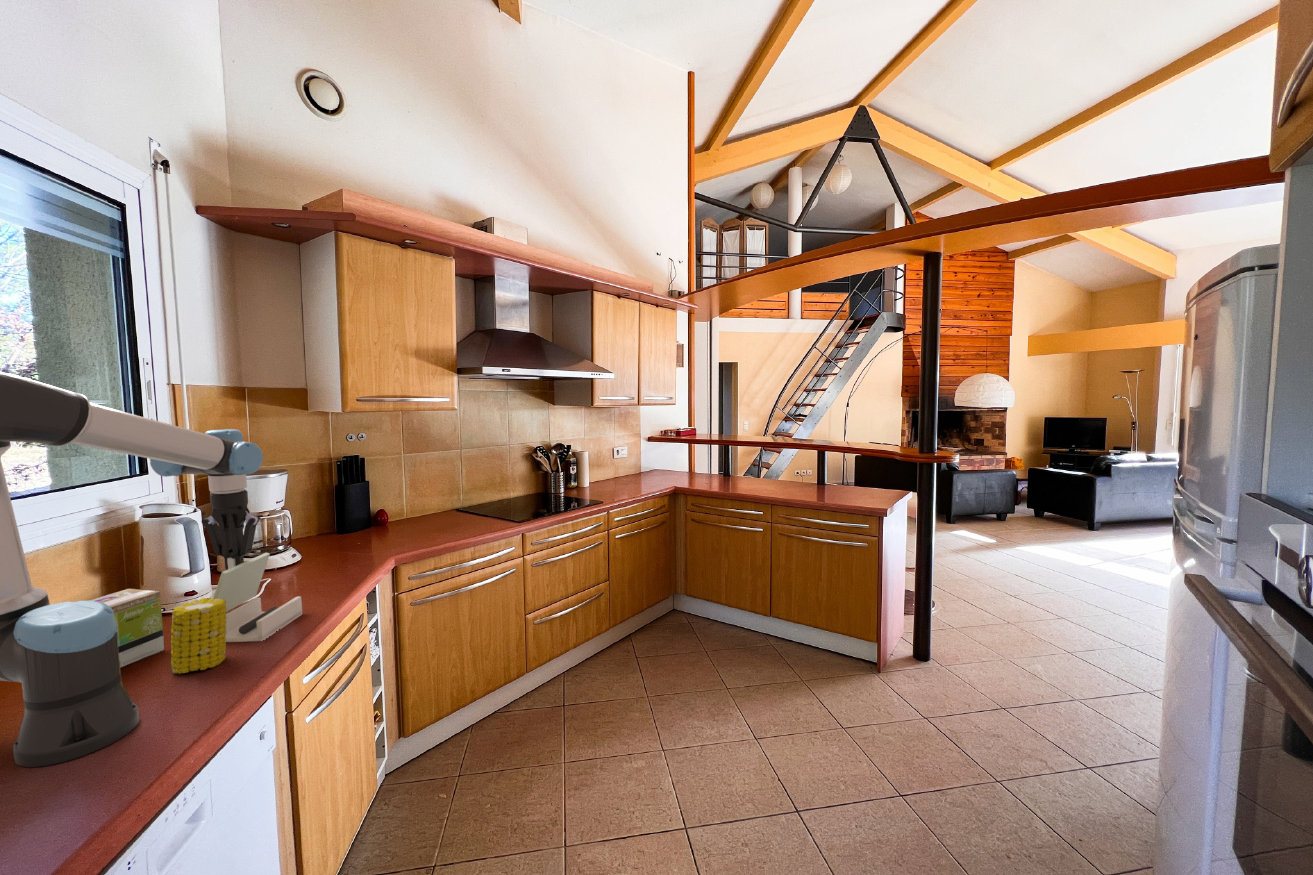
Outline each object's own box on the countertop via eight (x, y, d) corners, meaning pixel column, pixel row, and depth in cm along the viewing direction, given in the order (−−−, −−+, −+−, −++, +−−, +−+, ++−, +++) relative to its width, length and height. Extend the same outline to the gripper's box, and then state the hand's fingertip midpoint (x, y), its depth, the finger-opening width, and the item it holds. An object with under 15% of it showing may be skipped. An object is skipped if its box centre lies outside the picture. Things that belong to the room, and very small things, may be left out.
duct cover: (225, 573, 132) (221, 572, 132) (210, 620, 132) (206, 619, 132) (269, 553, 148) (266, 552, 148) (255, 595, 148) (252, 594, 148)
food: (162, 681, 118) (211, 661, 128) (201, 676, 115) (248, 655, 125) (148, 612, 119) (198, 597, 128) (186, 605, 115) (234, 590, 125)
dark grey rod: (247, 633, 135) (246, 626, 135) (239, 634, 135) (238, 626, 135) (281, 612, 148) (280, 605, 148) (273, 612, 148) (272, 605, 148)
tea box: (90, 683, 115) (82, 615, 114) (53, 678, 117) (46, 612, 116) (166, 649, 130) (160, 589, 128) (133, 646, 132) (127, 586, 130)
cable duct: (262, 640, 133) (261, 621, 133) (212, 642, 133) (210, 622, 133) (302, 614, 149) (301, 596, 149) (257, 615, 149) (255, 597, 148)
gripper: (265, 487, 142) (271, 575, 144) (213, 488, 141) (220, 577, 143) (244, 493, 134) (252, 586, 137) (190, 494, 134) (198, 587, 136)
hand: (235, 581), depth 140 cm, fingers closed
